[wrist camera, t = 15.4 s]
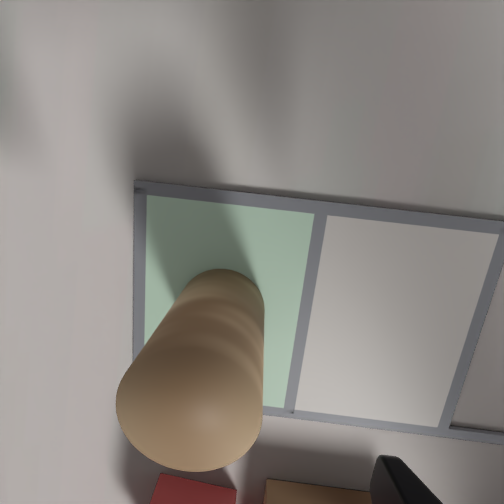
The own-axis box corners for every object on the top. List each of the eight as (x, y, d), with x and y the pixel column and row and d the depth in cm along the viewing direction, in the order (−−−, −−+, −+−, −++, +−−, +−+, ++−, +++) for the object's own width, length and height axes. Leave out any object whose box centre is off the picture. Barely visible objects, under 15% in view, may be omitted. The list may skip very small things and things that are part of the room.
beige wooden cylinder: (269, 273, 13) (269, 354, 7) (260, 351, 14) (255, 479, 8) (181, 264, 13) (114, 338, 8) (178, 343, 14) (116, 463, 8)
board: (701, 243, 12) (708, 244, 12) (597, 453, 15) (601, 457, 15) (136, 180, 13) (134, 180, 13) (134, 395, 15) (132, 398, 15)
